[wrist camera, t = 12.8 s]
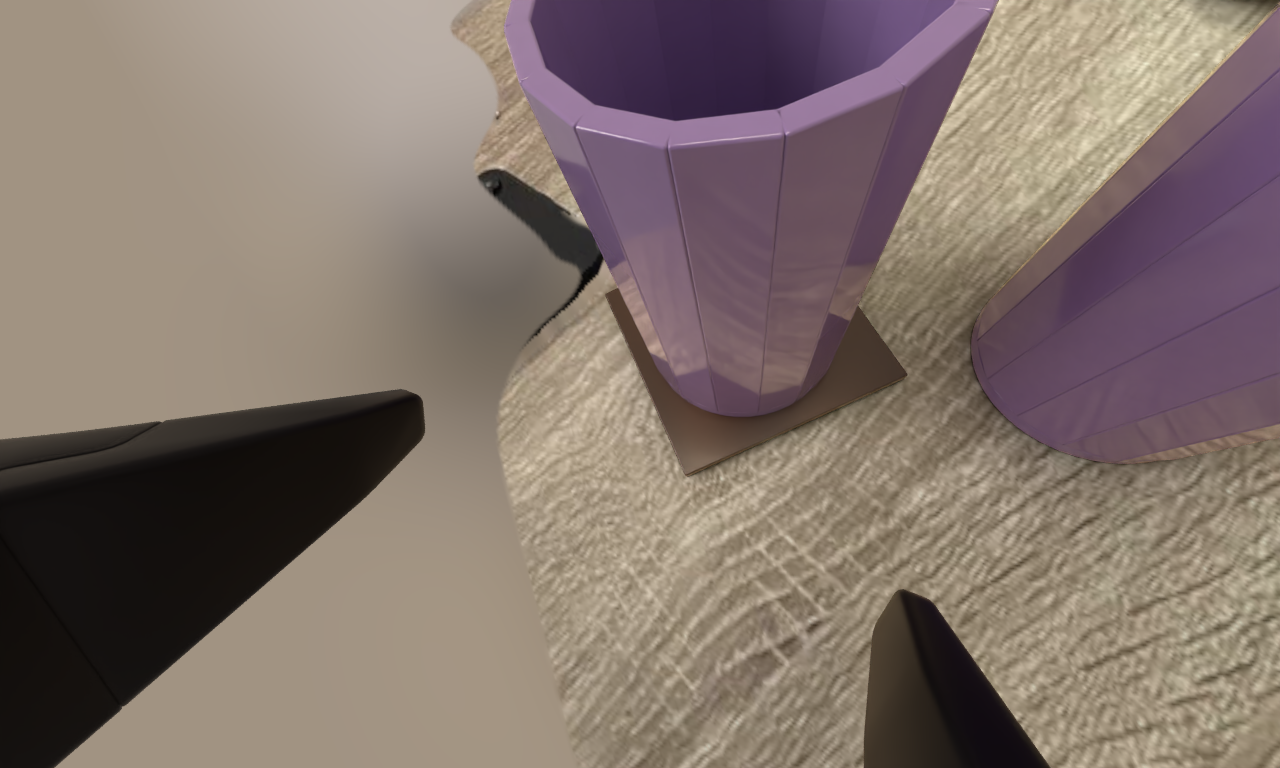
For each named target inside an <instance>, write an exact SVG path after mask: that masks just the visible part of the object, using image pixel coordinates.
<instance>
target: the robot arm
mask: <svg viewBox="0 0 1280 768" xmlns="http://www.w3.org/2000/svg"><path fill="white" fill-rule="evenodd" d="M424 433H425V422H424V409H423V401H422V399H421V398H420V397H419V396H418V395H417V394H414V393H412V392H409V391H407V390H402V389H399V390H391V391H384V392H376V393H369V394H361V395H354V396H346V397H339V398H332V399H323V400H316V401H309V402H301V403H293V404H286V405H278V406H271V407H264V408H256V409H248V410H241V411H233V412H226V413H219V414H211V415H203V416H196V417H189V418H181V419H174V420H166V421H164V422H150V423H142V424H135V425H128V426H119V427H111V428H104V429H95V430H87V431H78V432H69V433H60V434H50V435H41V436H32V437H22V438H12V439H2V440H0V768H54V767H56V766H57V765H58V764H59V763H60V762H61V761H63V760H64V759H65V758H66V757H67V756H68V755H70V753H72V752H73V751H74V750H75V749H76V748H78V747H79V746H80V745H81V744H82V743H83V742H85V741H86V740H87V739H88V738H89V737H90V736H91V735H93V734H94V733H95V732H96V731H97V730H98V729H100V728H101V727H102V726H103V725H104V724H105V723H106V722H108V721H109V720H110V719H111V718H112V717H113V716H114V715H116V714H117V713H118V712H119V711H120V710H121V709H122V706H125V705H126V704H128V703H129V702H130V701H131V700H132V699H133V698H135V697H136V696H137V695H138V694H139V693H140V692H141V691H143V690H144V689H145V688H146V687H147V686H148V685H150V684H151V683H152V682H153V681H154V680H155V679H157V678H158V677H159V676H160V675H161V674H162V673H163V672H165V671H166V670H167V669H168V668H169V667H170V666H171V665H173V664H174V663H175V662H176V661H177V660H178V659H180V658H181V657H182V656H183V655H184V654H185V653H187V652H188V651H189V650H190V649H191V648H192V647H193V646H195V645H196V644H197V643H198V642H199V641H200V640H202V639H203V638H204V637H205V636H206V635H207V634H209V633H210V632H211V631H212V630H213V629H214V628H215V627H217V626H218V625H219V624H220V623H221V622H222V621H223V620H225V619H226V618H227V617H228V616H229V615H230V614H232V613H233V612H234V611H235V610H236V609H237V608H238V607H240V606H241V605H242V604H243V603H244V602H245V601H247V599H249V598H250V597H251V596H252V595H254V594H255V593H256V592H257V591H258V590H259V589H261V588H262V587H263V586H264V585H265V584H266V583H267V582H268V581H270V580H271V579H272V578H273V577H274V576H276V575H277V574H278V573H279V572H280V571H281V570H282V569H284V568H285V567H286V566H287V565H288V564H289V563H291V562H292V561H293V560H294V559H295V558H296V557H297V556H298V555H300V554H301V553H302V552H303V551H304V550H306V548H308V547H309V546H310V545H311V544H313V543H314V542H315V541H316V540H317V539H318V538H319V537H321V536H322V535H323V534H324V533H325V532H326V531H328V530H329V529H330V528H331V527H332V526H333V525H334V524H336V523H337V522H338V521H339V520H340V519H341V518H342V517H343V516H345V515H346V514H347V513H348V512H349V511H351V510H352V509H353V508H354V507H355V506H356V505H358V504H359V503H360V502H361V501H362V500H363V499H364V498H365V497H366V496H367V495H368V494H369V493H370V492H371V491H372V490H373V489H375V488H376V487H377V485H378V484H379V483H380V482H381V481H382V480H383V479H384V478H385V477H386V476H387V475H388V474H389V473H390V472H391V471H392V470H393V469H394V468H395V467H396V466H397V465H398V464H399V463H400V461H402V460H403V459H404V458H405V456H407V455H408V453H409V452H410V451H411V450H412V449H413V448H414V447H415V446H416V445H417V444H418V443H419V442H420V441H421V439H422V438H423V436H424ZM864 768H1050V766H1049V765H1048V763H1047V762H1046V761H1045V759H1044V758H1043V756H1042V755H1041V754H1040V752H1039V751H1038V749H1037V748H1036V747H1035V745H1034V744H1033V742H1032V741H1031V740H1030V738H1029V737H1028V735H1027V734H1026V733H1025V731H1024V730H1023V728H1022V727H1021V726H1020V724H1019V723H1018V721H1017V720H1016V719H1015V717H1014V716H1013V714H1012V713H1011V712H1010V710H1009V709H1008V707H1007V706H1006V704H1005V703H1004V702H1003V700H1002V699H1001V697H1000V696H999V695H998V693H997V692H996V690H995V689H994V688H993V686H992V685H991V683H990V682H989V681H988V679H987V678H986V676H985V675H984V674H983V672H982V671H981V669H980V668H979V667H978V665H977V664H976V662H975V661H974V660H973V658H972V657H971V655H970V654H969V652H968V651H967V650H966V648H965V647H964V645H963V644H962V643H961V641H960V640H959V638H958V637H957V636H956V634H955V633H954V631H953V630H952V629H951V627H950V626H949V624H948V623H947V622H946V620H945V619H944V617H943V616H942V615H941V613H940V612H939V610H938V609H937V608H936V606H935V605H934V604H933V603H932V602H931V601H930V600H929V599H927V598H925V597H922V596H920V595H917V594H915V593H912V592H910V591H907V590H904V589H902V590H898V591H897V592H896V593H895V594H894V595H893V597H892V598H891V600H890V602H889V603H888V605H887V606H886V608H885V610H884V611H883V613H882V614H881V616H880V618H879V619H878V621H877V623H876V625H875V628H874V631H873V636H872V647H871V659H870V671H869V683H868V695H867V707H866V719H865V733H864Z"/></svg>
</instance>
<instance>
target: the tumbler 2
mask: <svg viewBox="0 0 1280 768" xmlns="http://www.w3.org/2000/svg"><path fill="white" fill-rule="evenodd" d="M971 356H972V361H973V366H974V369H975V372H976V375H977V378H978V380H979V382H980V384H981V386H982V388H983V390H984V392H985V393H986V395H987V396H988V398H989V399H990V400H991V402H992V403H993V404H994V405H995V407H996V408H997V409H998V410H999V411H1000V412H1001V413H1002V414H1003V415H1004V416H1005V417H1006V418H1007V419H1008V420H1009V421H1010V422H1011V423H1013V424H1014V425H1015V426H1016V427H1018V428H1019V429H1020V430H1022V431H1023V432H1025V433H1026V434H1027V435H1029V436H1031V437H1033V438H1034V439H1036V440H1038V441H1039V442H1041V443H1043V444H1045V445H1047V446H1050V447H1052V448H1054V449H1056V450H1058V451H1061V452H1064V453H1067V454H1070V455H1073V456H1076V457H1080V458H1084V459H1088V460H1092V461H1098V462H1106V463H1114V464H1137V463H1149V462H1154V461H1159V460H1175V459H1180V458H1184V457H1189V456H1194V455H1199V454H1204V453H1208V452H1213V451H1218V450H1223V449H1228V448H1232V447H1237V446H1242V445H1247V444H1252V443H1256V442H1261V441H1266V440H1271V439H1276V438H1280V2H1279V3H1278V4H1277V5H1276V6H1275V7H1274V8H1273V9H1272V10H1271V11H1270V12H1269V13H1268V14H1267V15H1266V16H1265V17H1264V18H1263V19H1262V20H1261V21H1260V22H1259V23H1258V24H1257V25H1256V26H1255V27H1254V28H1253V29H1252V30H1251V31H1250V32H1249V33H1248V34H1247V35H1246V36H1245V37H1244V38H1243V39H1242V40H1241V42H1240V43H1239V44H1238V45H1237V46H1236V47H1235V48H1234V49H1233V50H1232V51H1231V52H1230V53H1229V54H1228V55H1227V56H1226V57H1225V58H1224V59H1223V60H1222V61H1221V62H1220V63H1219V64H1218V65H1217V66H1216V67H1215V68H1214V69H1213V70H1212V71H1211V72H1210V73H1209V74H1208V75H1207V76H1206V77H1205V78H1204V79H1203V80H1202V81H1201V82H1200V83H1199V85H1198V86H1197V87H1196V88H1195V89H1194V90H1193V91H1192V92H1191V93H1190V94H1189V95H1188V96H1187V97H1186V98H1185V99H1184V100H1183V101H1182V102H1181V103H1180V104H1179V105H1178V106H1177V107H1176V108H1175V109H1174V110H1173V111H1172V112H1171V113H1170V114H1169V115H1168V116H1167V117H1166V118H1165V119H1164V120H1163V121H1162V122H1161V123H1160V124H1159V125H1158V126H1157V128H1156V129H1155V130H1154V131H1153V132H1152V133H1151V134H1150V135H1149V136H1148V137H1147V138H1146V139H1145V140H1144V141H1143V142H1142V143H1141V144H1140V145H1139V146H1138V147H1137V148H1136V149H1135V150H1134V151H1133V152H1132V153H1131V154H1130V155H1129V156H1128V157H1127V158H1126V159H1125V160H1124V161H1123V162H1122V163H1121V164H1120V165H1119V166H1118V167H1117V168H1116V169H1115V171H1114V172H1113V173H1112V174H1111V175H1110V176H1109V177H1108V178H1107V179H1106V180H1105V181H1104V182H1103V183H1102V184H1101V185H1100V186H1099V187H1098V188H1097V189H1096V190H1095V191H1094V192H1093V193H1092V194H1091V195H1090V196H1089V197H1088V198H1087V199H1086V200H1085V201H1084V202H1083V203H1082V204H1081V205H1080V206H1079V207H1078V208H1077V209H1076V210H1075V211H1074V212H1073V214H1072V215H1071V216H1070V217H1069V218H1068V219H1067V220H1066V221H1065V222H1064V223H1063V224H1062V225H1061V226H1060V227H1059V228H1058V229H1057V230H1056V231H1055V232H1054V233H1053V234H1052V235H1051V236H1050V237H1049V238H1048V239H1047V240H1046V241H1045V242H1044V243H1043V244H1042V245H1041V246H1040V247H1039V248H1038V249H1037V250H1036V251H1035V252H1034V253H1033V254H1032V255H1031V257H1030V258H1029V259H1028V260H1027V261H1026V262H1025V263H1024V264H1023V265H1022V266H1021V267H1020V268H1019V269H1018V270H1017V271H1016V272H1015V273H1014V274H1013V275H1012V276H1011V277H1010V278H1009V279H1008V280H1007V281H1006V282H1005V284H1004V285H1003V286H1002V287H1001V288H1000V289H999V290H998V291H997V292H996V294H995V295H994V296H993V297H992V298H991V299H990V300H989V301H988V302H987V303H986V305H985V306H984V307H983V309H982V310H981V312H980V314H979V316H978V318H977V319H976V322H975V325H974V328H973V332H972V339H971Z"/></svg>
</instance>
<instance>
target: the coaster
mask: <svg viewBox="0 0 1280 768" xmlns="http://www.w3.org/2000/svg"><path fill="white" fill-rule="evenodd" d="M605 296H606V298H607V300H608V302H609V305H610V307H611V309H612V311H613V314H614V316H615V318H616V320H617V323H618V325H619V327H620V329H621V332H622V334H623V336H624V338H625V341H626V343H627V345H628V347H629V350H630V352H631V354H632V356H633V359H634V361H635V363H636V365H637V368H638V370H639V372H640V374H641V377H642V379H643V381H644V384H645V386H646V388H647V390H648V393H649V395H650V397H651V399H652V402H653V404H654V406H655V408H656V411H657V413H658V415H659V417H660V420H661V422H662V424H663V426H664V429H665V431H666V433H667V435H668V438H669V440H670V442H671V444H672V447H673V449H674V451H675V453H676V456H677V458H678V460H679V462H680V465H681V467H682V469H683V471H684V474H685V475H686V476H687V477H688V476H690V475H693V474H695V473H697V472H699V471H701V470H704V469H706V468H708V467H710V466H712V465H715V464H717V463H719V462H721V461H724V460H726V459H728V458H730V457H732V456H735V455H737V454H739V453H741V452H743V451H746V450H748V449H750V448H752V447H755V446H757V445H759V444H761V443H763V442H766V441H768V440H770V439H772V438H774V437H777V436H779V435H781V434H783V433H786V432H788V431H790V430H792V429H794V428H797V427H799V426H801V425H803V424H805V423H808V422H810V421H812V420H814V419H817V418H819V417H821V416H823V415H825V414H828V413H830V412H832V411H834V410H836V409H839V408H841V407H843V406H845V405H848V404H850V403H852V402H854V401H856V400H859V399H861V398H863V397H865V396H867V395H870V394H872V393H874V392H876V391H879V390H881V389H883V388H885V387H887V386H890V385H892V384H894V383H896V382H898V381H901V380H903V379H904V378H905V377H906V376H907V373H906V372H905V370H904V369H903V368H902V366H901V365H900V363H899V362H898V361H897V359H896V358H895V357H894V355H893V354H892V352H891V351H890V350H889V348H888V347H887V345H886V344H885V343H884V341H883V340H882V338H881V337H880V336H879V334H878V333H877V332H876V330H875V329H874V327H873V326H872V325H871V323H870V322H869V320H868V319H867V318H866V316H865V315H864V314H863V312H862V311H861V309H860V308H859V307H858V306H857V308H856V310H855V313H854V315H853V317H852V319H851V321H850V323H849V326H848V328H847V330H846V332H845V334H844V336H843V338H842V341H841V343H840V345H839V347H838V349H837V351H836V354H835V356H834V358H833V360H832V362H831V364H830V366H829V369H828V371H827V372H826V374H825V375H824V376H823V377H822V378H821V380H820V381H819V382H818V384H817V385H816V386H815V387H814V388H813V389H812V390H811V391H810V392H809V393H807V394H806V395H805V396H804V397H802V398H801V399H800V400H798V401H796V402H795V403H793V404H791V405H789V406H788V407H785V408H783V409H780V410H778V411H775V412H772V413H768V414H765V415H759V416H752V417H732V416H724V415H719V414H715V413H711V412H709V411H706V410H703V409H701V408H699V407H697V406H695V405H693V404H691V403H689V402H688V401H687V400H685V399H684V398H682V397H681V396H680V395H679V394H678V393H677V392H675V391H674V390H673V389H672V388H671V386H670V385H669V384H668V383H667V381H666V380H665V379H664V377H663V375H662V374H661V373H660V372H659V370H658V369H657V367H656V365H655V363H654V361H653V359H652V357H651V355H650V353H649V350H648V348H647V346H646V344H645V342H644V340H643V338H642V336H641V334H640V332H639V330H638V328H637V326H636V324H635V322H634V319H633V317H632V315H631V313H630V311H629V309H628V307H627V305H626V303H625V301H624V299H623V297H622V295H621V293H620V291H619V289H618V288H617V289H615V290H613V291H611V292H609V293H607V294H605Z"/></svg>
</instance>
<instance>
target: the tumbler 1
mask: <svg viewBox="0 0 1280 768" xmlns="http://www.w3.org/2000/svg"><path fill="white" fill-rule="evenodd" d="M998 1H999V0H511V2H510V6H509V9H508V13H507V16H506V20H505V24H504V34H505V37H506V41H507V44H508V47H509V51H510V54H511V58H512V61H513V64H514V68H515V71H516V75H517V78H518V81H519V84H520V86H521V88H522V91H523V93H524V95H525V97H526V99H527V101H528V103H529V105H530V107H531V109H532V111H533V113H534V115H535V117H536V119H537V121H538V124H539V126H540V128H541V130H542V132H543V134H544V136H545V138H546V140H547V142H548V144H549V146H550V148H551V150H552V152H553V154H554V157H555V159H556V161H557V163H558V165H559V167H560V169H561V171H562V173H563V175H564V177H565V179H566V181H567V183H568V185H569V187H570V190H571V192H572V194H573V196H574V198H575V200H576V202H577V204H578V206H579V208H580V210H581V212H582V214H583V216H584V218H585V220H586V223H587V225H588V227H589V229H590V231H591V233H592V235H593V237H594V239H595V241H596V243H597V245H598V247H599V249H600V251H601V253H602V256H603V258H604V260H605V262H606V264H607V266H608V268H609V270H610V272H611V274H612V276H613V278H614V280H615V282H616V284H617V286H618V289H619V291H620V293H621V295H622V297H623V299H624V301H625V303H626V305H627V307H628V309H629V311H630V313H631V315H632V317H633V319H634V322H635V324H636V326H637V328H638V330H639V332H640V334H641V336H642V338H643V340H644V342H645V344H646V346H647V348H648V350H649V353H650V355H651V357H652V359H653V361H654V363H655V365H656V367H657V369H658V370H659V372H660V373H661V374H662V375H663V377H664V379H665V380H666V381H667V383H668V384H669V385H670V386H671V388H672V389H673V390H674V391H675V392H677V393H678V394H679V395H680V396H681V397H682V398H684V399H685V400H687V401H688V402H689V403H691V404H693V405H695V406H697V407H699V408H701V409H703V410H706V411H709V412H711V413H715V414H719V415H724V416H732V417H752V416H759V415H765V414H768V413H772V412H775V411H778V410H780V409H783V408H785V407H788V406H789V405H791V404H793V403H795V402H796V401H798V400H800V399H801V398H802V397H804V396H805V395H806V394H807V393H809V392H810V391H811V390H812V389H813V388H814V387H815V386H816V385H817V384H818V382H819V381H820V380H821V378H822V377H823V376H824V375H825V374H826V372H827V371H828V369H829V366H830V364H831V362H832V360H833V358H834V356H835V354H836V351H837V349H838V347H839V345H840V343H841V341H842V338H843V336H844V334H845V332H846V330H847V328H848V326H849V323H850V321H851V319H852V317H853V315H854V313H855V310H856V308H857V306H858V304H859V302H860V300H861V298H862V295H863V293H864V291H865V289H866V287H867V285H868V282H869V280H870V278H871V276H872V274H873V272H874V270H875V267H876V265H877V263H878V261H879V259H880V257H881V254H882V252H883V250H884V248H885V246H886V244H887V241H888V239H889V237H890V235H891V233H892V231H893V229H894V226H895V224H896V222H897V220H898V218H899V216H900V213H901V211H902V209H903V207H904V205H905V203H906V201H907V198H908V196H909V194H910V192H911V190H912V188H913V185H914V183H915V181H916V179H917V177H918V175H919V173H920V170H921V168H922V166H923V164H924V162H925V160H926V157H927V155H928V153H929V151H930V149H931V147H932V145H933V142H934V140H935V138H936V136H937V134H938V132H939V129H940V127H941V125H942V123H943V121H944V119H945V117H946V114H947V112H948V110H949V108H950V106H951V104H952V101H953V99H954V97H955V95H956V93H957V91H958V88H959V86H960V84H961V82H962V80H963V78H964V76H965V73H966V71H967V69H968V67H969V65H970V63H971V60H972V58H973V56H974V54H975V52H976V50H977V48H978V45H979V43H980V41H981V39H982V37H983V35H984V32H985V30H986V28H987V26H988V24H989V22H990V20H991V17H992V15H993V13H994V11H995V8H996V6H997V4H998Z"/></svg>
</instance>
